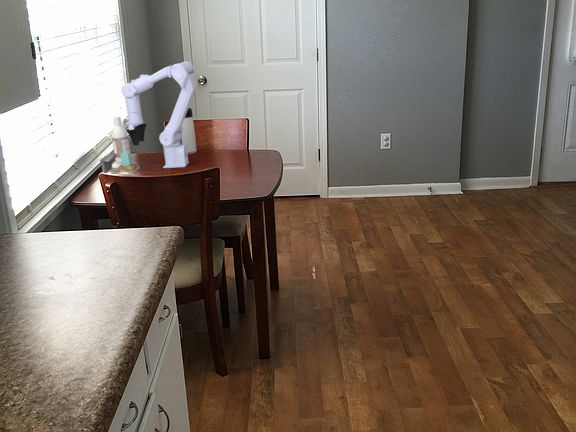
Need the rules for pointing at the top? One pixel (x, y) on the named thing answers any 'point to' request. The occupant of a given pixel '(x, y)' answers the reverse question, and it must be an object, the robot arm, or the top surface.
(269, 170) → the top surface
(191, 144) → the travel mug
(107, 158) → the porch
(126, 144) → the bath foam
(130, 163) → the peg
